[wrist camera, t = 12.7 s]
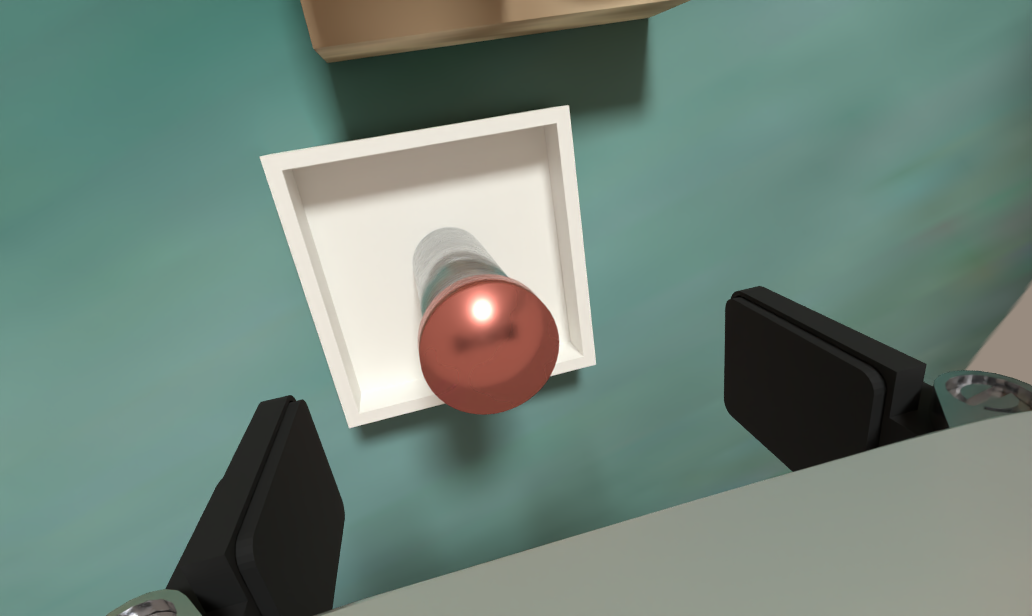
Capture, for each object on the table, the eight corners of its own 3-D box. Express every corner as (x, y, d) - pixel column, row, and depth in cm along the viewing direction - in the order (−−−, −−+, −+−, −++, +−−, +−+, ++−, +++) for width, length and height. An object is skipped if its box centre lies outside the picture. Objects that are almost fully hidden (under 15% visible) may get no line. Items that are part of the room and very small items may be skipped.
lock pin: (484, 212, 23) (550, 270, 14) (498, 294, 24) (566, 394, 15) (396, 230, 22) (404, 302, 13) (416, 312, 24) (436, 429, 14)
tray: (550, 107, 23) (568, 104, 20) (578, 344, 27) (596, 364, 25) (273, 153, 21) (259, 156, 18) (353, 400, 25) (349, 428, 23)
